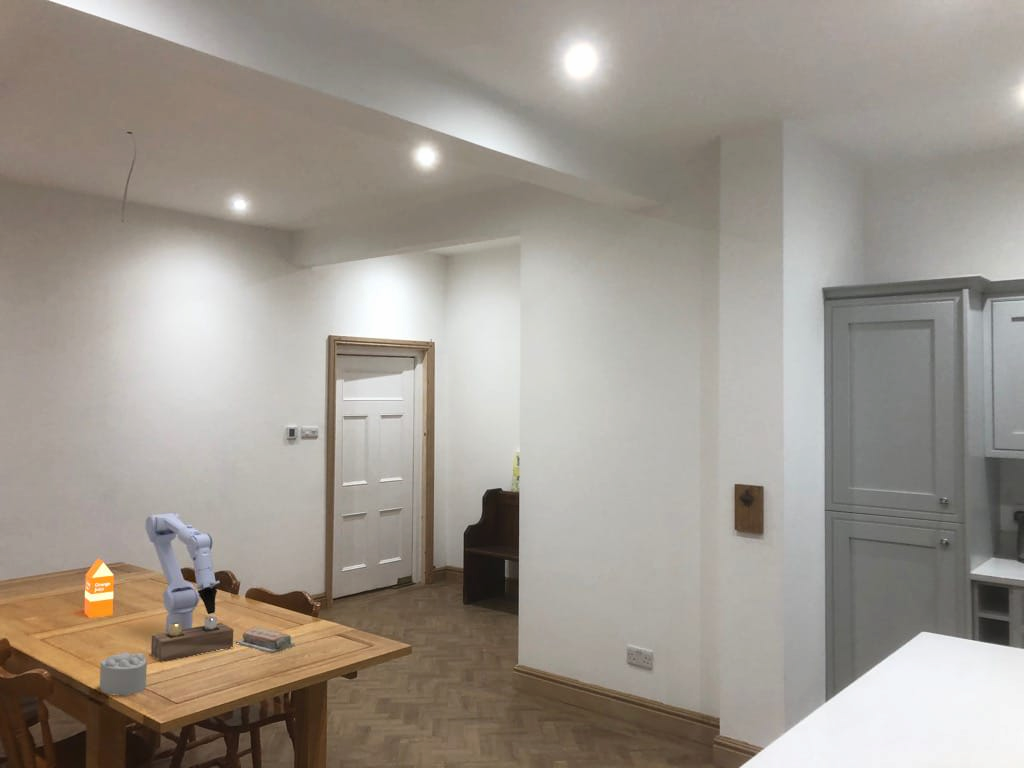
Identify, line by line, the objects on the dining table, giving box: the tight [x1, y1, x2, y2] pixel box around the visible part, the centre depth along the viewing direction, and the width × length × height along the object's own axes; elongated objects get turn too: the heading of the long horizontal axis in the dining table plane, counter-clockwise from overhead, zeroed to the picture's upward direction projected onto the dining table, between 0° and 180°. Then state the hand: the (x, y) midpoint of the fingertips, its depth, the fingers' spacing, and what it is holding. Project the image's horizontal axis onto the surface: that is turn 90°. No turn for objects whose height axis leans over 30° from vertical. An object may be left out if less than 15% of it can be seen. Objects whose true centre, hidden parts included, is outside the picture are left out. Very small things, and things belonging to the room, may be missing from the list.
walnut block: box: [150, 622, 234, 662], centre depth 245 cm, size 10×22×6 cm, turn 132°
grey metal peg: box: [204, 616, 218, 632], centre depth 248 cm, size 4×4×6 cm
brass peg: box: [169, 622, 182, 638], centre depth 241 cm, size 4×4×6 cm
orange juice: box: [84, 558, 115, 619], centre depth 286 cm, size 8×9×20 cm
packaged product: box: [235, 626, 296, 654], centre depth 252 cm, size 18×5×10 cm
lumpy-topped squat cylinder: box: [99, 652, 148, 696], centre depth 212 cm, size 10×13×9 cm
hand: (211, 612), depth 247 cm, fingers open, 7 cm apart
